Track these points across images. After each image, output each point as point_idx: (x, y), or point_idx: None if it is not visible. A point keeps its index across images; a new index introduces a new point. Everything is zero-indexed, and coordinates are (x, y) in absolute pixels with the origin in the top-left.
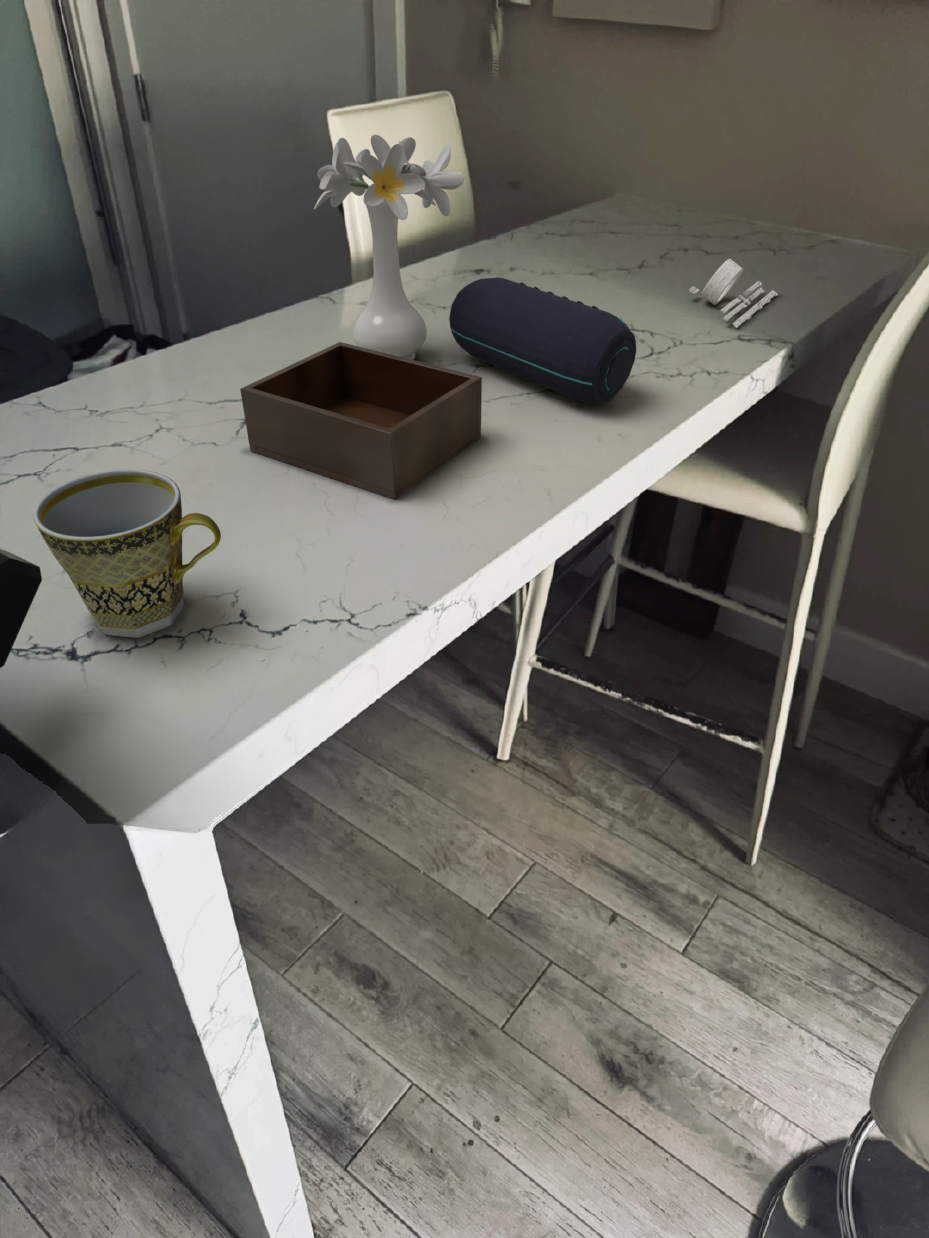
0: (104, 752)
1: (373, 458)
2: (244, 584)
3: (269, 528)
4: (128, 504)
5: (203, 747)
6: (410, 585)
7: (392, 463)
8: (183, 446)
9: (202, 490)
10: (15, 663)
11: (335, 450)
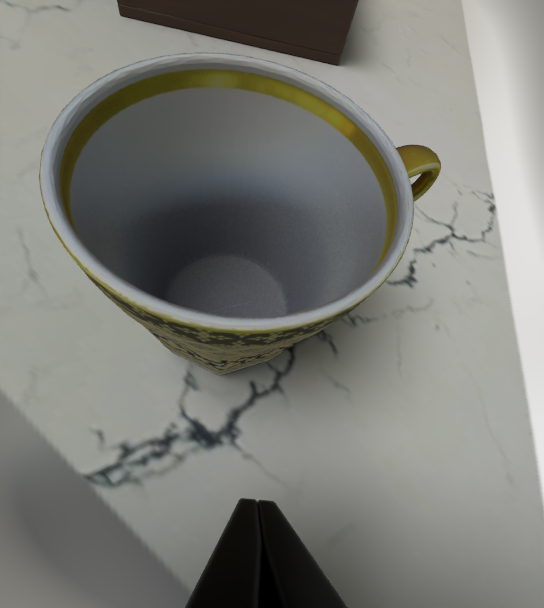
0: (427, 598)
1: (326, 9)
2: None
3: None
4: (174, 142)
5: (517, 502)
6: (455, 171)
7: (353, 14)
8: (18, 14)
9: None
10: (123, 505)
11: (267, 1)
